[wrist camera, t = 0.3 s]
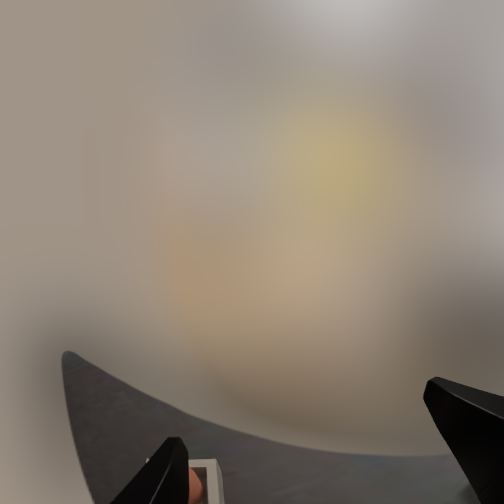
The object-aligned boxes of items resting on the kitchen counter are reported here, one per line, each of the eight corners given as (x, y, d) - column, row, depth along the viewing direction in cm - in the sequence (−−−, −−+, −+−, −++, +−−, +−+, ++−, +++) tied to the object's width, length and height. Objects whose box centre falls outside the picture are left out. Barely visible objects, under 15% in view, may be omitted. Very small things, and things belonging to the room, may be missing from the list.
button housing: (227, 526, 12) (220, 519, 11) (154, 524, 12) (140, 515, 11) (221, 472, 18) (215, 458, 17) (157, 472, 17) (146, 458, 17)
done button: (205, 509, 13) (198, 500, 12) (160, 507, 12) (149, 498, 12) (203, 474, 16) (197, 462, 15) (162, 474, 16) (152, 461, 15)
